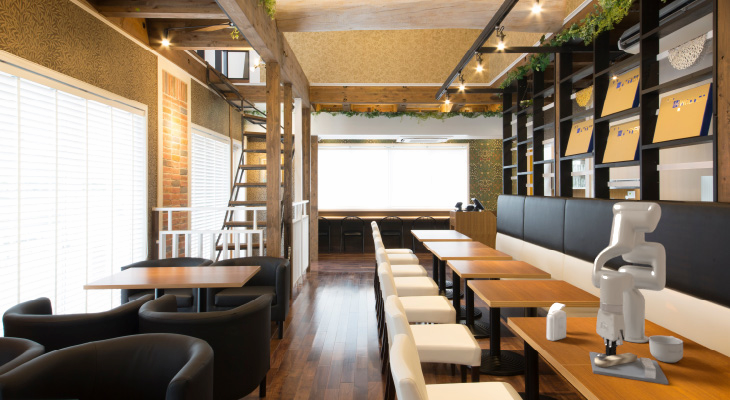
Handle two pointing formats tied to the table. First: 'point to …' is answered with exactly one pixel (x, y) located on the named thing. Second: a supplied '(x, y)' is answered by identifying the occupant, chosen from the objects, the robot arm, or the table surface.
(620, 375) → the slate board
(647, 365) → the keeper
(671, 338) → the teacup
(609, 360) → the link
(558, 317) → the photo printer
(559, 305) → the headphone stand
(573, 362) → the table surface
